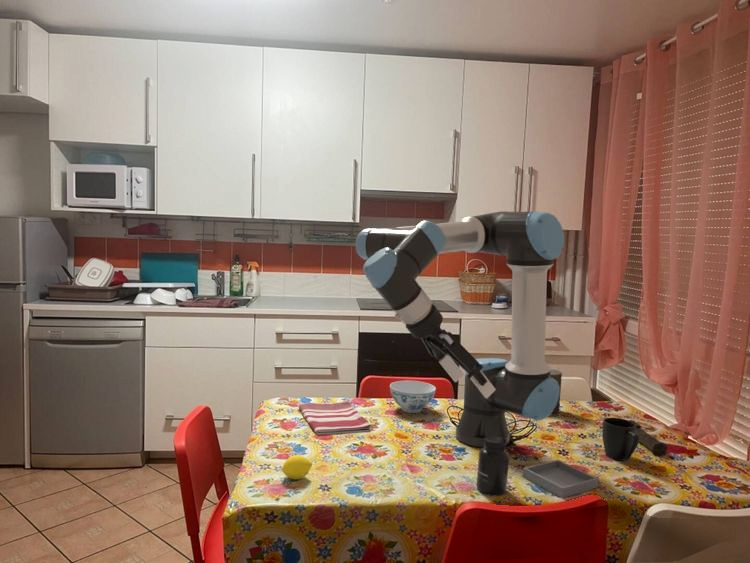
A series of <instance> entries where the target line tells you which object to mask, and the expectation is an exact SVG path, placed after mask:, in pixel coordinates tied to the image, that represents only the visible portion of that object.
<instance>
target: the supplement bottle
mask: <svg viewBox="0 0 750 563" xmlns="http://www.w3.org/2000/svg"><path fill="white" fill-rule="evenodd" d="M506 449H507V445H506V440H505V439H504V438H502V437H499V436H486V437H485V441H484V448H481V449H480V451H479V452H478V458H477V459H478V460H477V461H478V462H477V472H476V473H477V474H476V475H477V476H476V488H477V490H478V489H479V490H480V491H479V490H478V491H479V492H480V493H482V492H483V493H482V494H485V495H488V494H489V496H494V495H497V496H502V495H504V494H505V493H506V492H507V488H508V487H507V486H508V477H509V466H510V465H509V464H510V455H509V453H508V452H507V450H506Z"/></svg>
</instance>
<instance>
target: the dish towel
mask: <svg viewBox="0 0 750 563" xmlns="http://www.w3.org/2000/svg"><path fill="white" fill-rule="evenodd" d="M298 409H299V411H300V412H301V414H302V416H303V418H304V419H305V420H306V422H307V423H308V424H309V427H310V428H311V429H312V431H313V432H314V433H315V435H317V436H322V435H334V434H335V435H338V434H351V433H353V434H354V433H361V432H362V433H365V432H370V429H371V424H370V423H369V421H368V420H367V419H365V418H364V417H363V416H362V415H361V413H359V412H358V410H356V409H355V408H354V407H353V406H352V404H351V402H350V400H349V401H343V402H335V403H316V402H315V403H314V402H308V403H307V402H306V403H302V404H300V405H299V406H298Z"/></svg>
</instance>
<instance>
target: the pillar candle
mask: <svg viewBox="0 0 750 563" xmlns="http://www.w3.org/2000/svg"><path fill="white" fill-rule="evenodd" d="M550 369H551V371H550V378H554V379H555V380H556V381H557V382H558V384H559V387H560V393H559V398H558V402H557V404H556V406H555V408H554V409H553V411H552V413H551V414H550V415H549V416H552V415H553V416H555V415H558V414H559V413H560V405H561V403H560V401H561V390H562V389H561V388H562V377H563V376H562V371H561V370H558V369H554V368H550Z"/></svg>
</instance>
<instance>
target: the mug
mask: <svg viewBox="0 0 750 563" xmlns="http://www.w3.org/2000/svg"><path fill="white" fill-rule="evenodd" d="M601 432H602V443H603V448H604V451H605V452H604V453H605V456H606V457H607V458H610V459H612V460H615V461H627V460H629V459H630V458H631V457H632V455H633V453H634V452H635V450H636V448H638V445H639V443H640V442H639V435H638V434H637V433H636V424H635V423H633V422H631V421H629V420H628V419H624V418H619V417H605V418H604V419H603V422H602V431H601Z"/></svg>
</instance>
